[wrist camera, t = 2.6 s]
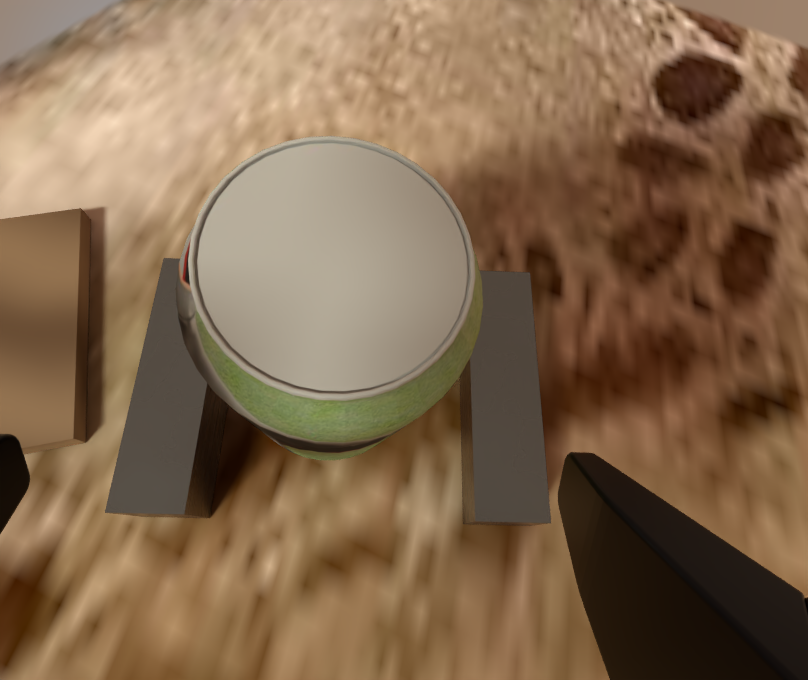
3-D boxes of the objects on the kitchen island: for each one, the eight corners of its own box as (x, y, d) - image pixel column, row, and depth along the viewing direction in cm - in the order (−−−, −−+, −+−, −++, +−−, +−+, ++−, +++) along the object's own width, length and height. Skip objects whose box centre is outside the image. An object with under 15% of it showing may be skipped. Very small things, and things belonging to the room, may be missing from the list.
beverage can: (321, 291, 21) (257, 17, 10) (467, 389, 20) (575, 195, 9) (219, 409, 19) (-3, 226, 8) (373, 526, 18) (361, 500, 7)
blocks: (529, 525, 18) (550, 523, 16) (141, 516, 18) (104, 512, 15) (513, 301, 22) (529, 272, 19) (187, 289, 21) (163, 258, 19)
